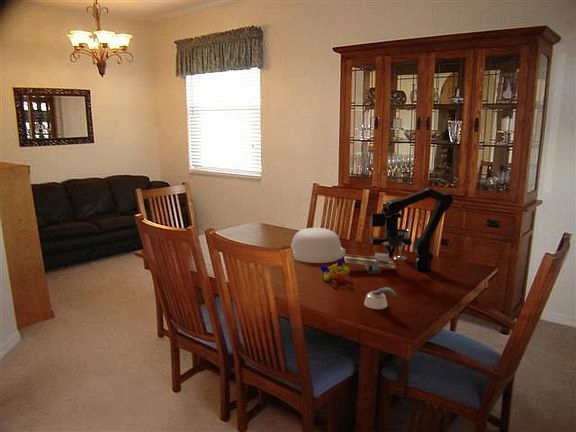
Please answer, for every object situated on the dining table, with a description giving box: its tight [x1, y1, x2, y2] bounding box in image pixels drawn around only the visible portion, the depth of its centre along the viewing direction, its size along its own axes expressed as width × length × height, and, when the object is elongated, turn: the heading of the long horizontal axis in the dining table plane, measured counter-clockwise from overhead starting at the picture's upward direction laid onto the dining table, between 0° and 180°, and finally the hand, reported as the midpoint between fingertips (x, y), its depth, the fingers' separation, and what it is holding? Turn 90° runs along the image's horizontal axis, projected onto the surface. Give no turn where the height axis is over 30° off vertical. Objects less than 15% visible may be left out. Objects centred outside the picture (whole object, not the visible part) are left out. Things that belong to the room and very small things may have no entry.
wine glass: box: [392, 228, 410, 261], centre depth 241 cm, size 8×8×15 cm
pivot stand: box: [364, 255, 382, 275], centre depth 222 cm, size 6×11×6 cm, turn 0°
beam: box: [343, 253, 397, 269], centre depth 222 cm, size 24×7×3 cm, turn 90°
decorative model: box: [319, 258, 351, 284], centre depth 209 cm, size 13×9×15 cm
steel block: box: [374, 252, 390, 263], centre depth 222 cm, size 6×4×4 cm
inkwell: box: [363, 286, 399, 310], centre depth 177 cm, size 9×18×10 cm, turn 28°
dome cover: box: [290, 227, 346, 264], centre depth 247 cm, size 32×30×14 cm
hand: (390, 257), depth 222 cm, fingers closed
